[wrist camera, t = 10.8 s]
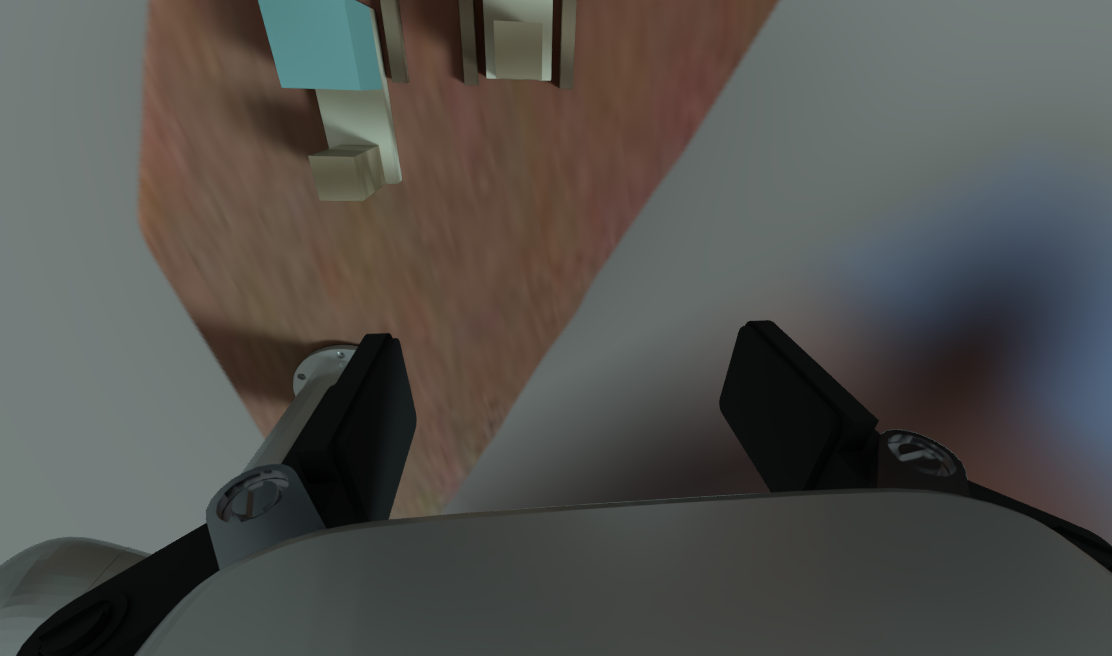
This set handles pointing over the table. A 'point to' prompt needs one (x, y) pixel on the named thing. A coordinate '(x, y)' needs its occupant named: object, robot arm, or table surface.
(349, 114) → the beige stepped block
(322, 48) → the teal block
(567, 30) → the walnut lane rails
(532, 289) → the table surface
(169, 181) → the table surface
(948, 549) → the robot arm
